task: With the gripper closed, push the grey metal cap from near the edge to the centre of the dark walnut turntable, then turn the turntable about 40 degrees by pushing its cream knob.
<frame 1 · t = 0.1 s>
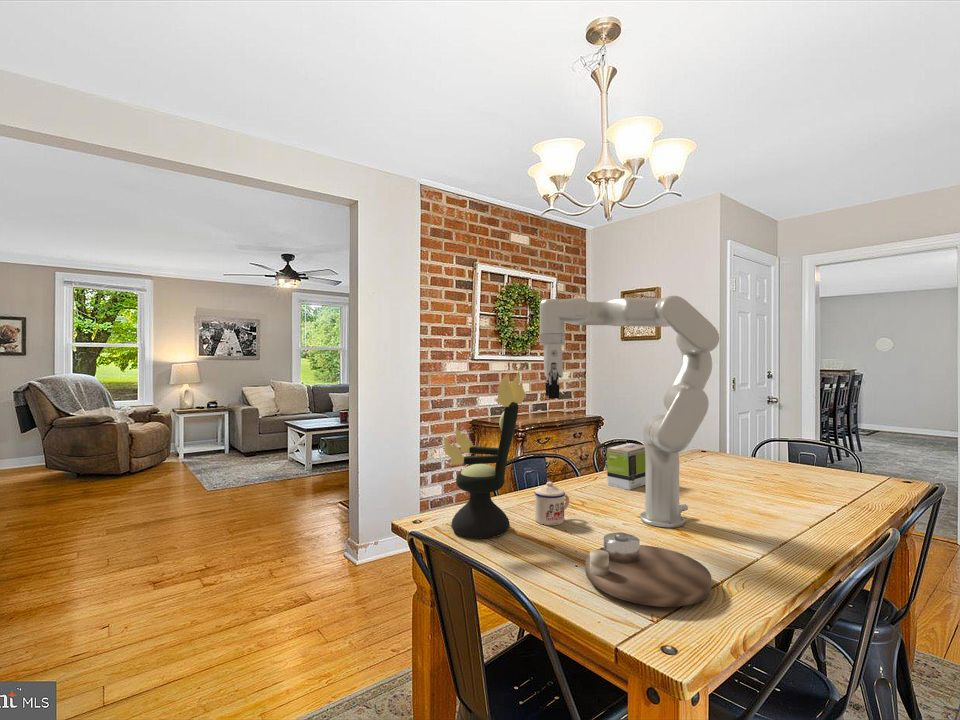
hand: (552, 397, 148), 37 cm above the table, tool pointing down, fingers open, 9 cm apart
teacup with lid: (553, 520, 148), on the table
tea box: (629, 485, 188), on the table
cap: (621, 556, 113), point 3 cm above the table, touching turntable
toy pedestal armchair: (487, 529, 140), on the table
turntable: (646, 562, 107), point 4 cm above the table, hinge at 0.0°, touching cap
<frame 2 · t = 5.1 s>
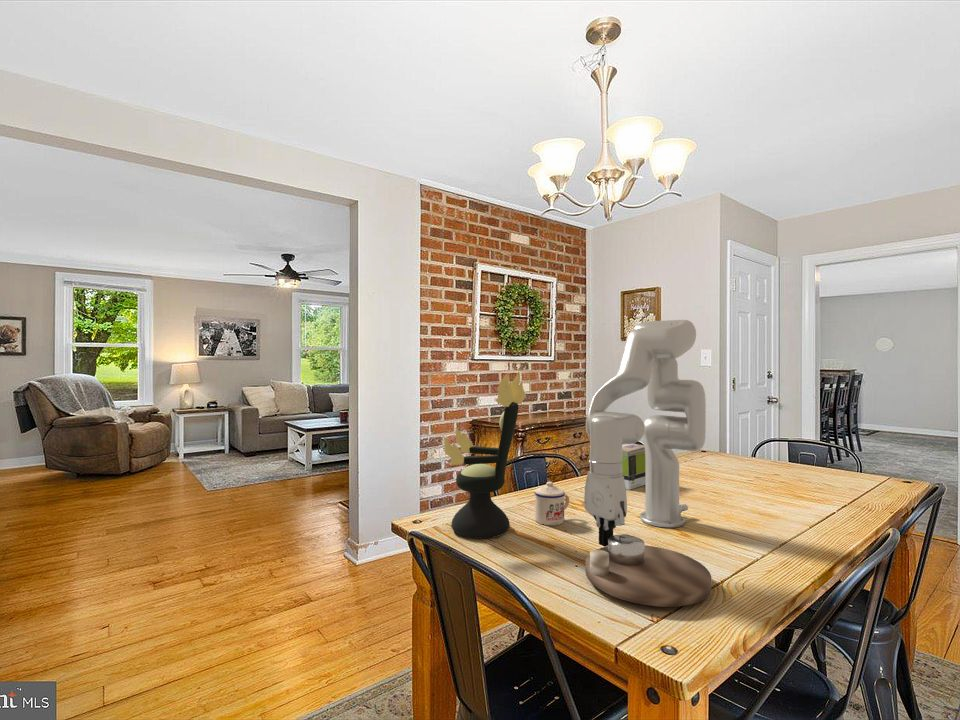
hand: (606, 544, 117), 4 cm above the table, tool pointing down, fingers closed
cap: (626, 558, 112), point 3 cm above the table, touching gripper, turntable
turntable: (646, 562, 107), point 4 cm above the table, hinge at 0.3°, touching cap
everything else where it was.
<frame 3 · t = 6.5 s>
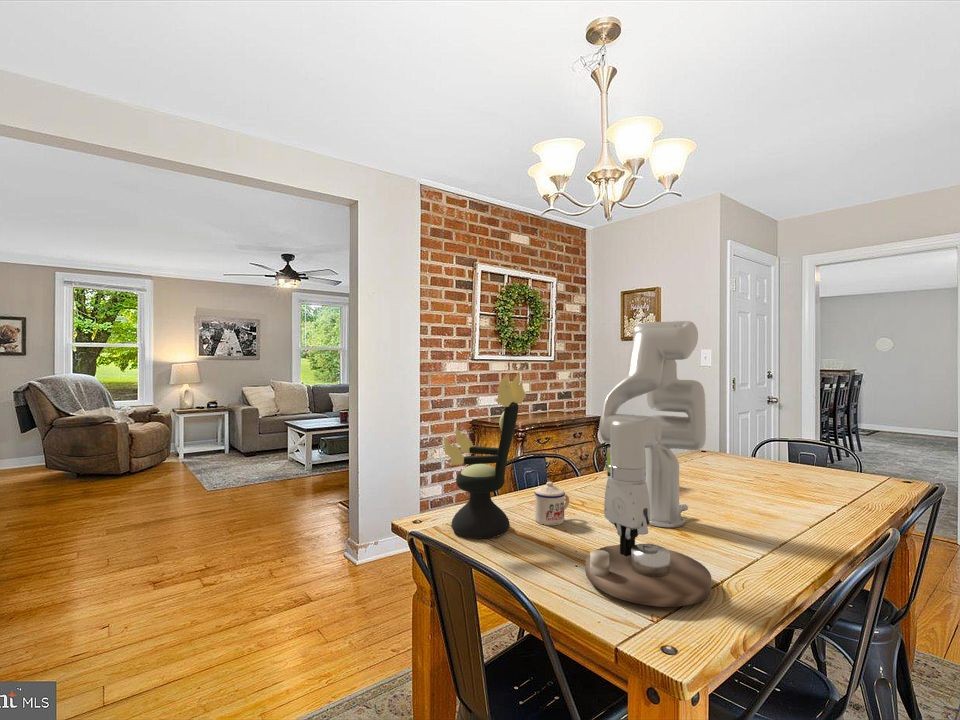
hand: (627, 553, 112), 4 cm above the table, tool pointing down, fingers closed
cap: (650, 569, 106), point 3 cm above the table, touching gripper, turntable
turntable: (646, 562, 107), point 4 cm above the table, hinge at 0.8°, touching cap
everything else where it was.
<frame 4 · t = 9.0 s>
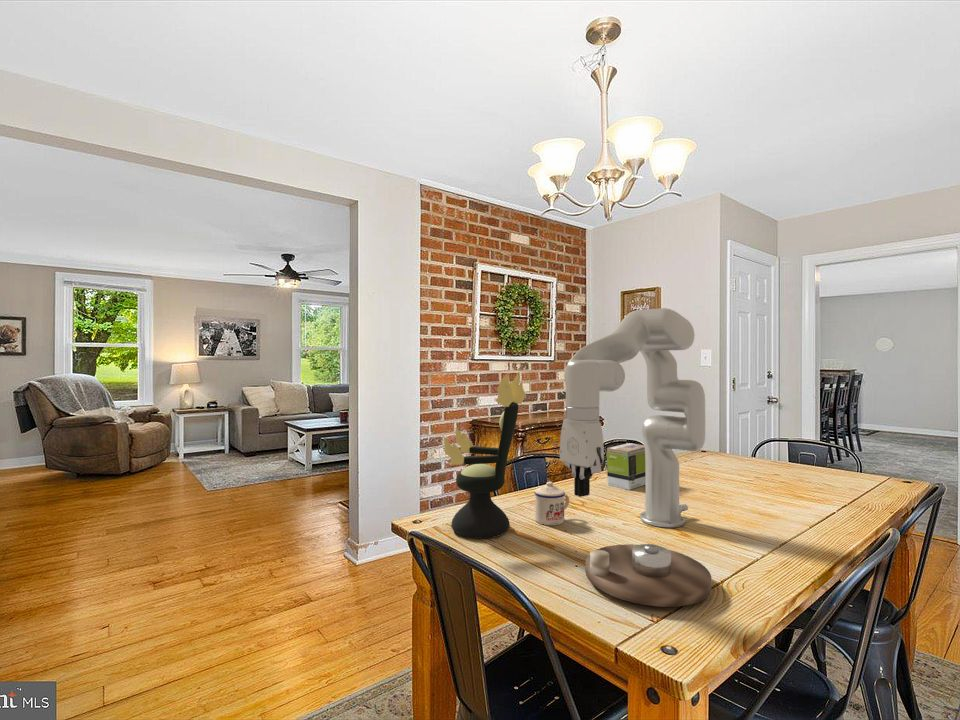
hand: (581, 495, 111), 18 cm above the table, tool pointing down, fingers closed
cap: (651, 569, 106), point 3 cm above the table, touching turntable
everything else where it was.
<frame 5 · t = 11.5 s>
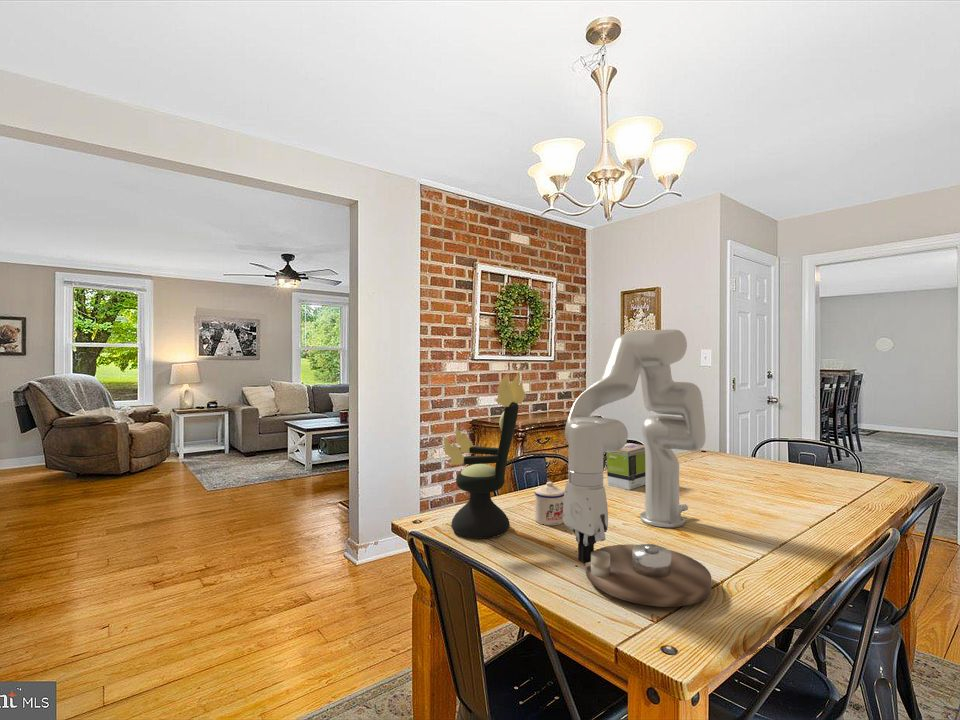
hand: (586, 560, 108), 4 cm above the table, tool pointing down, fingers closed
turntable: (646, 562, 107), point 4 cm above the table, hinge at 2.6°, touching cap, gripper
everything else where it was.
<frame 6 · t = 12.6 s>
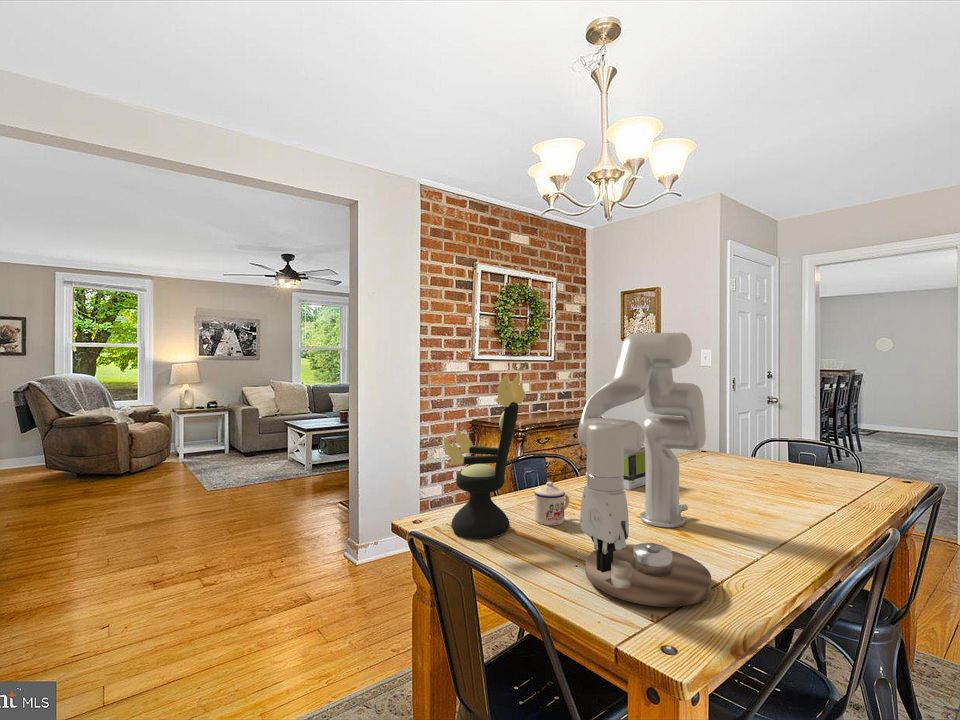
hand: (604, 569, 103), 5 cm above the table, tool pointing down, fingers closed
turntable: (646, 562, 107), point 4 cm above the table, hinge at 34.1°, touching cap, gripper
everything else where it was.
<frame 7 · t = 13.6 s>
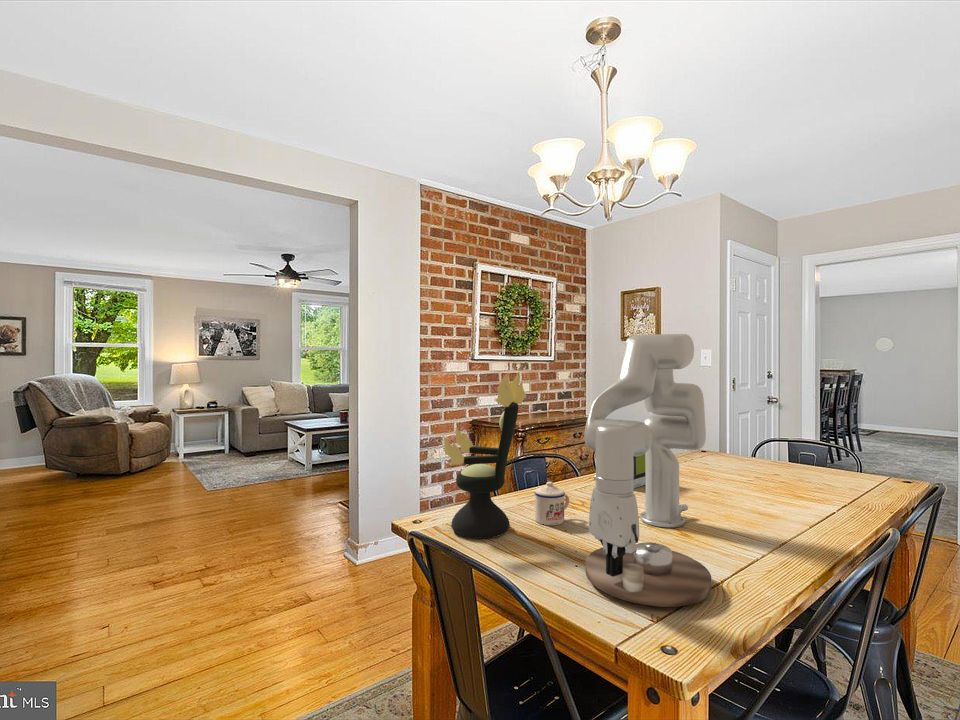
hand: (614, 573, 101), 5 cm above the table, tool pointing down, fingers closed
turntable: (646, 562, 107), point 4 cm above the table, hinge at 46.8°, touching cap, gripper
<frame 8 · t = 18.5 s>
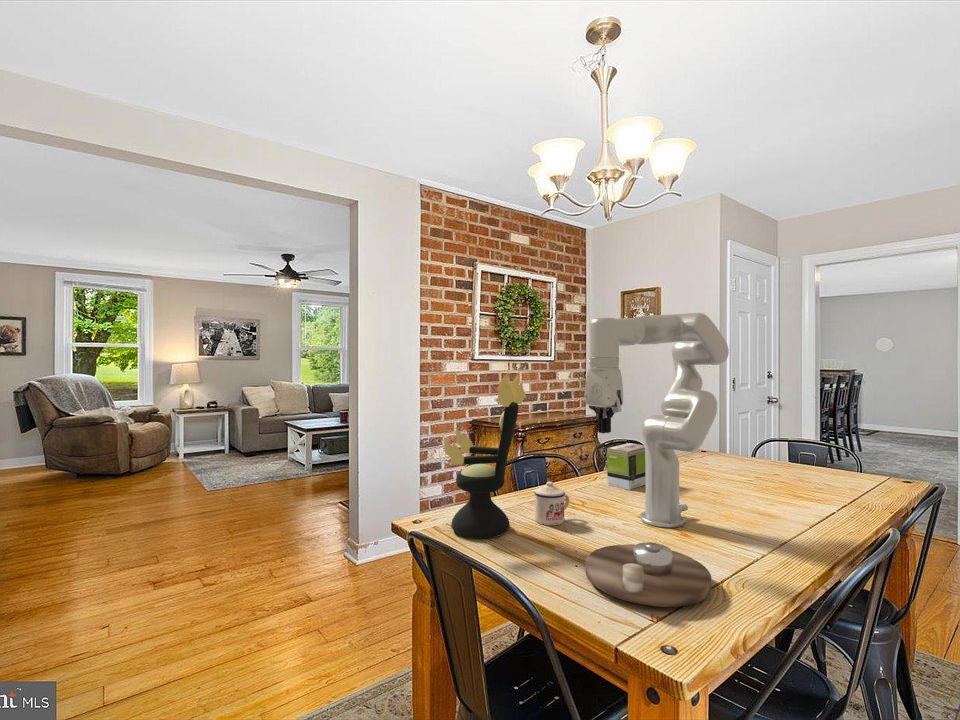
hand: (604, 432, 131), 29 cm above the table, tool pointing down, fingers closed
turntable: (646, 562, 107), point 4 cm above the table, hinge at 46.9°, touching cap
at the end: cap 1.4 cm from the turntable (horizontally); cap point 3.2 cm above the table; turntable at +47° (first picture: +0°) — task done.
